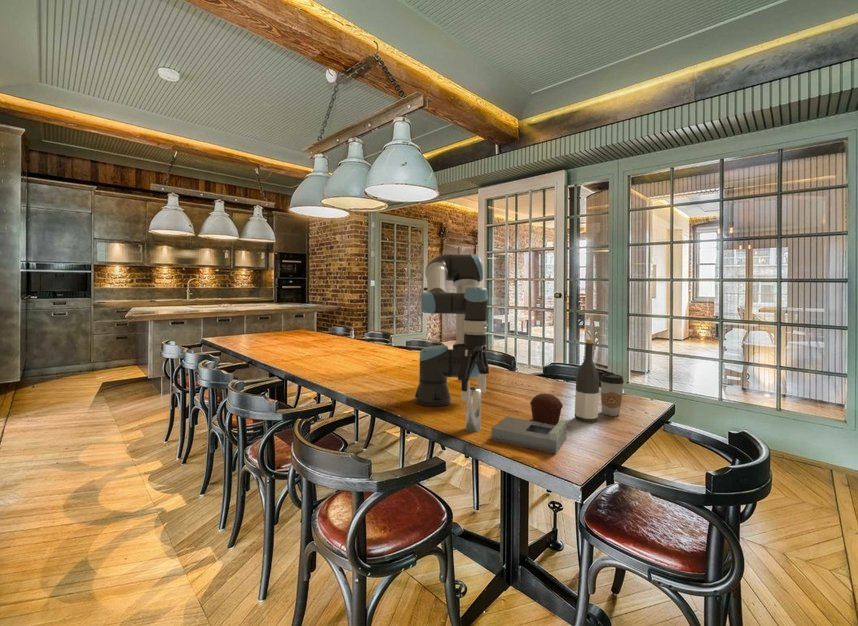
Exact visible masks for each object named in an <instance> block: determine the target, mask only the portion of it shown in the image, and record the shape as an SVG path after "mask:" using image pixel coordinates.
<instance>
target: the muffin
mask: <svg viewBox="0 0 858 626" xmlns="http://www.w3.org/2000/svg"><path fill="white" fill-rule="evenodd" d="M529 403H530V406H531V407H530V408H531V409H530V410H531V416H532V421H535V422H540V423H546V424H551V425H557V424H558V422H559V421H560V417H561V412H562V409H563V407H564V405H563V403H562V401H561V399H559V398H558V397H557V396H555V395H553V394H551V393H539V394H537V395H535V396H534V397H533V398H532V399H531V401H530V402H529Z"/></svg>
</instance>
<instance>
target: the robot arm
mask: <svg viewBox="0 0 858 626" xmlns="http://www.w3.org/2000/svg"><path fill="white" fill-rule="evenodd" d="M424 273H425V278H426V280H427V281H426V282H427V285H426V286H427V288H426V289H427V290H426V292H422V294H421V306H420V307H421V312H422V313H423V314H424V313H425V314H431V315H433V314H439V315H442V314H445V315H447V314H450V315H452V314H453V315H455V314H456V317H455V318H456V319H455V320H456V323H455V325H456V326H455V327H456V330H455V331H456V334H455V335H456V340H455V342H454V343H453V344H452V348H451V349H449V346H448V345H444V344H443V345H442V344H441V345H439V344H438V345H429V346H426V347H423V348H422V349H421V350H420V352H419V359H418V361H419V371H418V372H419V376H418V385H417V389H416V390H415V394H414V402H415V404H417V405H419V406H425V407H443V406H448V405H449V404H451V403H452V396H451V394H450V393H451V392H450V389H449V385H448V378H457V380H458V381H460V384H461V385H460V401H462V402H466V401H468V402H469V401H470V387H471V380H470V379H473V378H475V379H476V378H477V388H481V394H482V393H483V394H486V389H487V385H486V384H487V375H489V373H490V371H489V370H490V367H489V361H488V356H487V346H486V345H487V335H486V333H487V329H488V326H489V324H488V322H487V320H488V299H489V296H488V289H487V288H486V287H482V286H480V282H482V281H483V278H484V268H483V262H482V258H481V257H480V256H479V255H478V254H458V253H457V254H456V253H455V254H449V253H445V254H440V255H438V256H436V257H434V258H433V259H431V260H430V261H429V262H428V264H427V265H426V267H425V272H424ZM447 281H451V282H452V285H453V287H455V289H456V290H455V292H448V289H447V287H448V286H447ZM479 286H480V287H479Z"/></svg>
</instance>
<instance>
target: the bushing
mask: <svg viewBox="0 0 858 626" xmlns="http://www.w3.org/2000/svg"><path fill="white" fill-rule="evenodd" d="M481 405H482V393H481V388H478V386H470V401H469V402H468V401H465V422H464V423H465V431H466V432H468V431H469V432H468V433H478V432H480V431H481V417H482V416H481V413H482V412H481V411H482V410H481V409H482V406H481Z"/></svg>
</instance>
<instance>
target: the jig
mask: <svg viewBox="0 0 858 626" xmlns="http://www.w3.org/2000/svg"><path fill="white" fill-rule="evenodd" d="M567 424H568V421H567V420H563V419H561V420H560V419H559V422H558V424H557V425H551V424H546V423H540V422H535V421H533V420H529V419H523V418H518V417H511V416H505V417H504V418H502V419H501V420H499V422H497V423H496V424H495V425H494V426H493V427H491V430H490V431H491V433H490V435H491V436H490V440H492V441H491V442H496V441H497V443H500V442H502V444H505V443H507V444H506V445H510V444H512V445H511V446H514V445H517V446H516V447H519V446H522V447H521V448H523V447H527V448H526V449H528V448H531V449H530V450H533V449H535V450H534V451H537V450H540V451H539V452H542V451H545V452H544V453H547V452H548V454H551V453H553V454H552V455H557V454H558V453H559V451H560V449H561V448H560V447H562V446H563V445H564V443H565V442H566V440H567V426H568V425H567ZM558 450H559V451H558ZM556 453H557V454H556Z"/></svg>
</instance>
